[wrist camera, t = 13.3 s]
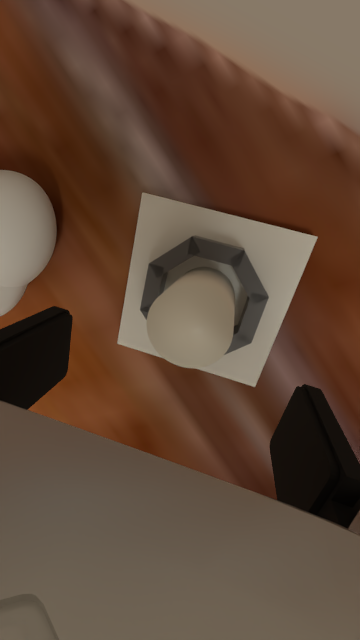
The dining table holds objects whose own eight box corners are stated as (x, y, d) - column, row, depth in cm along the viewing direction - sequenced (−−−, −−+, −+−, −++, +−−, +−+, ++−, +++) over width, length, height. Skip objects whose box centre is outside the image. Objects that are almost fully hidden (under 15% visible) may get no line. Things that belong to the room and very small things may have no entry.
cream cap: (243, 276, 20) (246, 301, 14) (224, 334, 22) (218, 379, 16) (181, 259, 21) (156, 274, 14) (167, 316, 23) (139, 352, 16)
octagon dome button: (313, 236, 19) (326, 238, 17) (254, 380, 24) (256, 399, 22) (146, 193, 21) (133, 189, 18) (121, 339, 26) (108, 352, 23)
